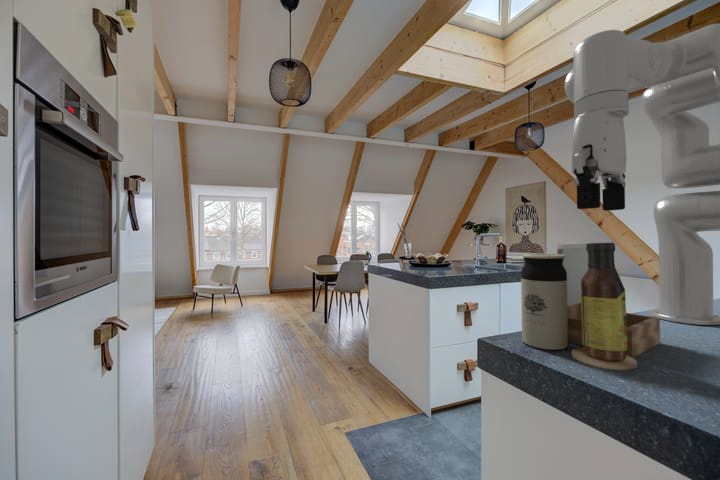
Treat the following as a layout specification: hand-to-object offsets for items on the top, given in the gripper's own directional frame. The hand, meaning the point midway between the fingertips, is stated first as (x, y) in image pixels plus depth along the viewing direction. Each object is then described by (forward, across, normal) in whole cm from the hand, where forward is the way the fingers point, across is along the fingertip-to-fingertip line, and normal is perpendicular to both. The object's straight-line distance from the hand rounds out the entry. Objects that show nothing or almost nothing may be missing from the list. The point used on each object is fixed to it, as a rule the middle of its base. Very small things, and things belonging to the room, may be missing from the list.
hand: (601, 209), depth 55 cm
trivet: (+26, 0, 0) cm, 26 cm away
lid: (+26, -11, -9) cm, 30 cm away
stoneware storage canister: (+26, 0, -10) cm, 28 cm away
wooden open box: (+26, -12, -4) cm, 29 cm away
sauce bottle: (+26, 0, 0) cm, 26 cm away
